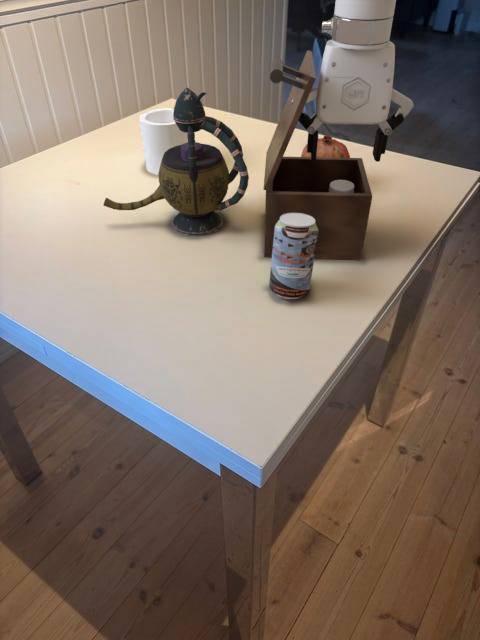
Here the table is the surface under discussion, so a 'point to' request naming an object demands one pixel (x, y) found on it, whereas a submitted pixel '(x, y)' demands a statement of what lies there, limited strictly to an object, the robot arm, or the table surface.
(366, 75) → the robot arm
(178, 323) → the table surface
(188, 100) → the teapot
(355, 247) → the chest
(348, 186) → the pill bottle
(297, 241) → the beverage can
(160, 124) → the mug
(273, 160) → the lid
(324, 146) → the fruit
